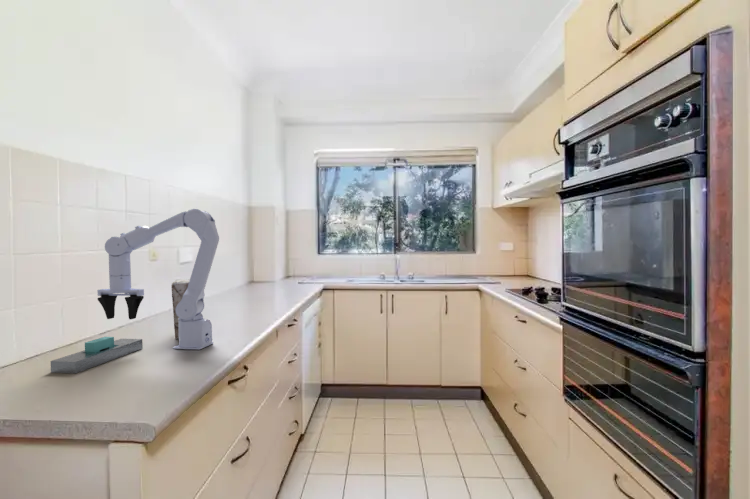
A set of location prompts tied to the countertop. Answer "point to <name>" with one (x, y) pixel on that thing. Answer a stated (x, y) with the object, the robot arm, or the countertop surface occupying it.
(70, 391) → the countertop surface
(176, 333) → the stone block
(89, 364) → the rail
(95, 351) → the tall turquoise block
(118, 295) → the robot arm
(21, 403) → the countertop surface
